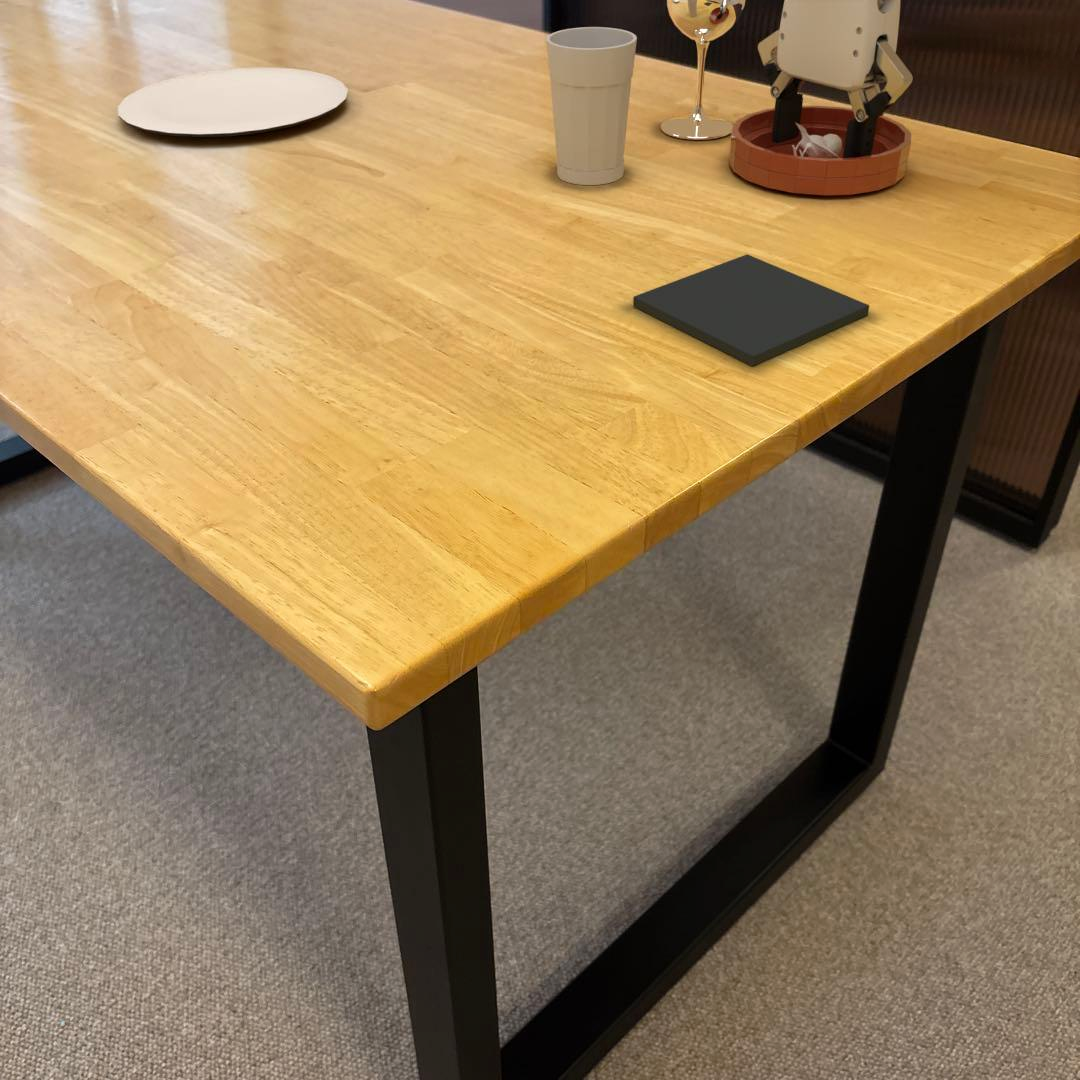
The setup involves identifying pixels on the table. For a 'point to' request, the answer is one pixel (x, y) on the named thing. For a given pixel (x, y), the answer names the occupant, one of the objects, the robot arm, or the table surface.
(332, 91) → the plate
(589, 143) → the cup
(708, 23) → the wineglass
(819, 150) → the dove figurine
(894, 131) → the bowl
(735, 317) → the coaster
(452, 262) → the table surface
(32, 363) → the table surface
